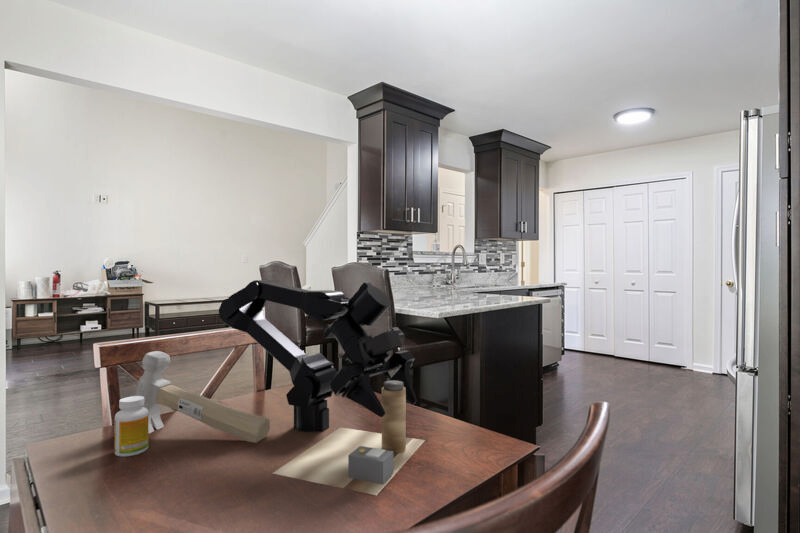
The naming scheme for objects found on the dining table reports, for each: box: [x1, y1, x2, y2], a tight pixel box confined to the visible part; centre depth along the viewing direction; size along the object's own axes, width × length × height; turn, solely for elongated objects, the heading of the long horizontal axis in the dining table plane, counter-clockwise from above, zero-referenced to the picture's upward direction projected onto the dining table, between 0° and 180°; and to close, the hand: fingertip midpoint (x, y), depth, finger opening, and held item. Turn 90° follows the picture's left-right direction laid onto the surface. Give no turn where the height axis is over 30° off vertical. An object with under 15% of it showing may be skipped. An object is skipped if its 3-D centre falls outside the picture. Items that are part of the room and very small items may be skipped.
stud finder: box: [348, 446, 393, 484], centre depth 70 cm, size 6×4×4 cm, turn 68°
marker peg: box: [381, 380, 407, 454], centre depth 80 cm, size 4×4×12 cm
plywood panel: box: [272, 426, 426, 496], centre depth 77 cm, size 18×22×1 cm
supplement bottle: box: [114, 395, 150, 458], centre depth 81 cm, size 5×5×10 cm
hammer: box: [134, 350, 271, 444], centre depth 89 cm, size 16×5×30 cm
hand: (399, 408), depth 79 cm, fingers open, 9 cm apart
